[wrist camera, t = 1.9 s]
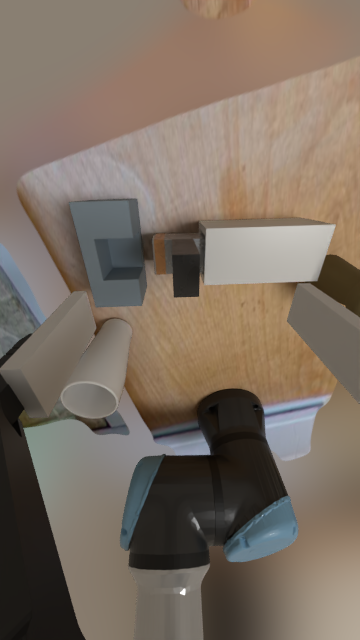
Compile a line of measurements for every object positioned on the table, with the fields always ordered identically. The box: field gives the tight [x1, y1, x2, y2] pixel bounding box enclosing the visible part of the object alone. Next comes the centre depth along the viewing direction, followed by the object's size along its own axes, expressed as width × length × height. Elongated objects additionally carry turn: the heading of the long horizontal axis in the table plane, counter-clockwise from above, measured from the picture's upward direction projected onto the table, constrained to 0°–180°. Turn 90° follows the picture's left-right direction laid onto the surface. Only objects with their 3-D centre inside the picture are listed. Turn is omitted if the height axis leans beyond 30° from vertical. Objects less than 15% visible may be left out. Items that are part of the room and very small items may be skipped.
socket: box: [69, 199, 147, 307], centre depth 27 cm, size 12×6×7 cm, turn 1°
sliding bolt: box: [152, 233, 205, 297], centre depth 24 cm, size 4×18×11 cm, turn 91°
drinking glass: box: [60, 319, 132, 419], centre depth 31 cm, size 7×7×15 cm
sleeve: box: [199, 218, 336, 285], centre depth 27 cm, size 6×14×7 cm, turn 91°
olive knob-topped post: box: [305, 255, 360, 317], centre depth 29 cm, size 6×6×11 cm
